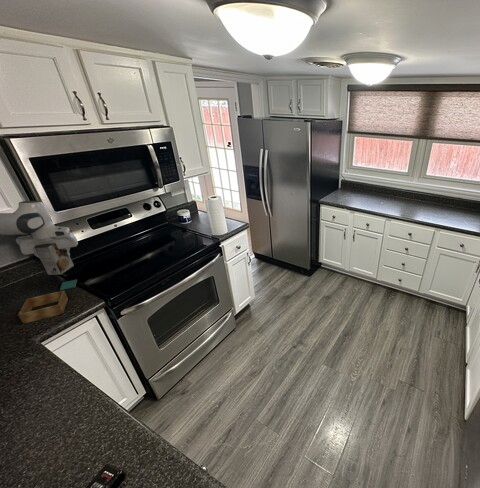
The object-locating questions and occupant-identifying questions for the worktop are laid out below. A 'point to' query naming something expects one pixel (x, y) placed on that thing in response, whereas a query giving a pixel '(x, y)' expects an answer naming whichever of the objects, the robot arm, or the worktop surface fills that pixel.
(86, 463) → the worktop surface
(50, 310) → the holder
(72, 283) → the mat
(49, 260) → the coffee box
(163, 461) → the worktop surface
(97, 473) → the worktop surface
